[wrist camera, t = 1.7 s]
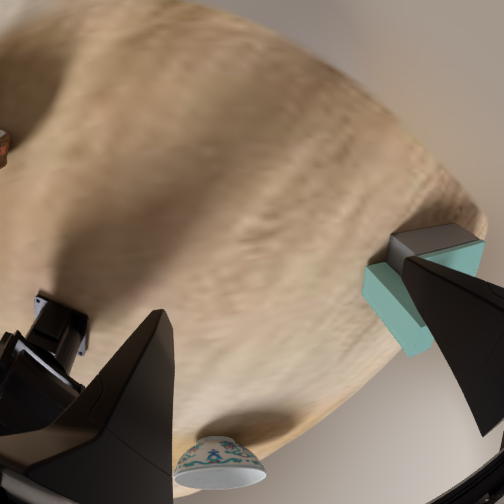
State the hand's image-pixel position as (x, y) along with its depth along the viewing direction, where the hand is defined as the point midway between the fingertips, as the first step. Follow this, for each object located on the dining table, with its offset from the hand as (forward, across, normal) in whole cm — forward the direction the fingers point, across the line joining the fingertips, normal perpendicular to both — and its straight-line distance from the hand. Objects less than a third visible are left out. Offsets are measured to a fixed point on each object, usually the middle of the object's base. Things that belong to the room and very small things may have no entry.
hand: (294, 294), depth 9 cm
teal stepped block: (+13, -17, +11) cm, 24 cm away
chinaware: (+12, +12, +41) cm, 44 cm away
